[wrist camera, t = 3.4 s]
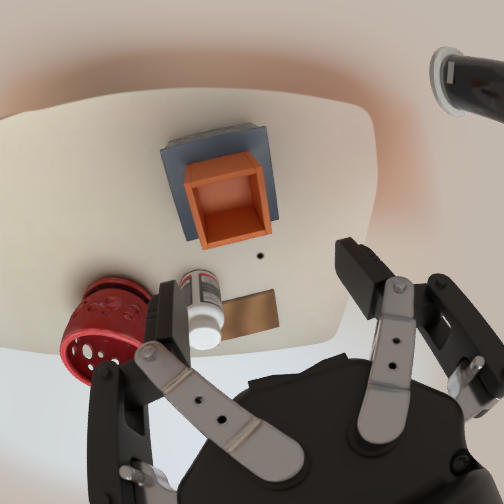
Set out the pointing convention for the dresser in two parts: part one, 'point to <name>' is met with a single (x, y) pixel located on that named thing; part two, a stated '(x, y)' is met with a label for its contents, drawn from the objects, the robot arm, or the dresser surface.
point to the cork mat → (249, 315)
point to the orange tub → (227, 199)
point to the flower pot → (105, 326)
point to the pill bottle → (203, 309)
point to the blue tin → (213, 147)
